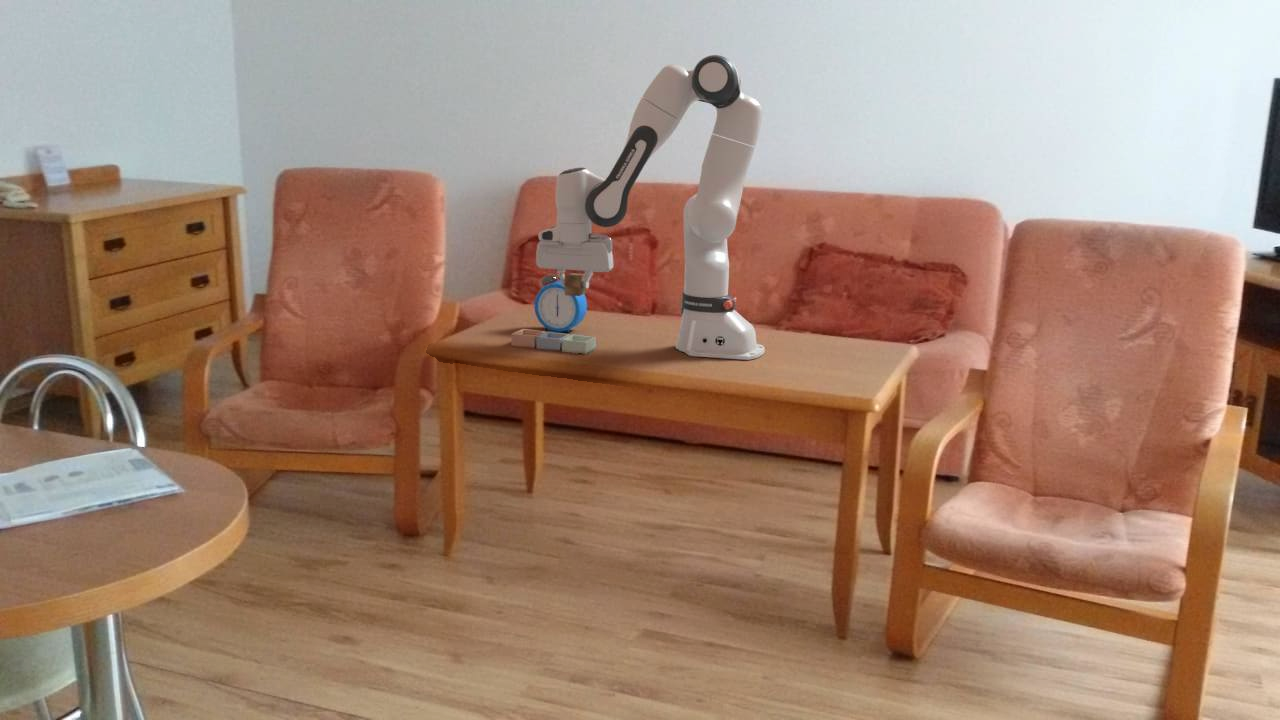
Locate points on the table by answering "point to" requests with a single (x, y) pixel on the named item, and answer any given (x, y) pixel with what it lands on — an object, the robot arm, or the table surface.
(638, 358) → the table surface
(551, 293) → the alarm clock
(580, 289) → the brown block
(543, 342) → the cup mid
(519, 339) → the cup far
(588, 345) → the pale green square tray
